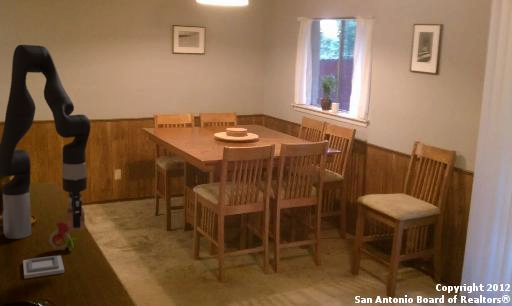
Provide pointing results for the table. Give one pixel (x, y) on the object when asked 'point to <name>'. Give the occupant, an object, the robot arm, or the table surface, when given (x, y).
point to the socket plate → (43, 266)
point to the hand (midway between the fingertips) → (75, 224)
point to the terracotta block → (70, 220)
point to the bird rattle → (61, 238)
